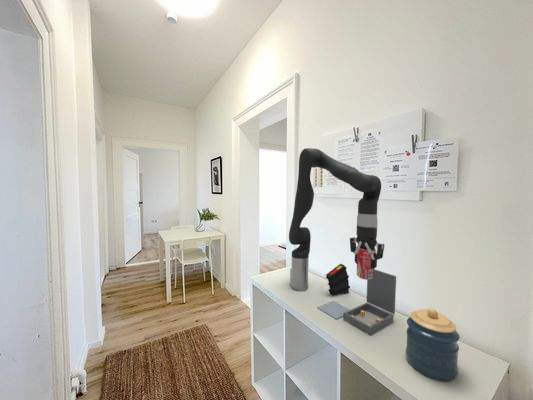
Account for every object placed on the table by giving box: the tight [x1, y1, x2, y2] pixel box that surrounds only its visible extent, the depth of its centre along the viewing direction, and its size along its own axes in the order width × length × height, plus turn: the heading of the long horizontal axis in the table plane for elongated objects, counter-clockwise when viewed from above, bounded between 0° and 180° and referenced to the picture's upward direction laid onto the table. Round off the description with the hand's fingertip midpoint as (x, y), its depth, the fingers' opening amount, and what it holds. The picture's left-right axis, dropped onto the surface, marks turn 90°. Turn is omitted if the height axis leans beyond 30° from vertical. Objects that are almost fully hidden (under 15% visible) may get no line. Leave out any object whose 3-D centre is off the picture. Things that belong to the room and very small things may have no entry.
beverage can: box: [356, 248, 374, 280], centre depth 90 cm, size 6×6×12 cm
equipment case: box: [342, 268, 397, 337], centre depth 92 cm, size 12×17×19 cm
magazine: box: [325, 263, 351, 297], centre depth 116 cm, size 4×13×15 cm, turn 114°
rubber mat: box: [316, 300, 351, 321], centre depth 100 cm, size 11×11×1 cm
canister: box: [405, 308, 460, 382], centre depth 69 cm, size 13×13×18 cm
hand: (365, 265), depth 91 cm, fingers closed on beverage can, 6 cm apart
